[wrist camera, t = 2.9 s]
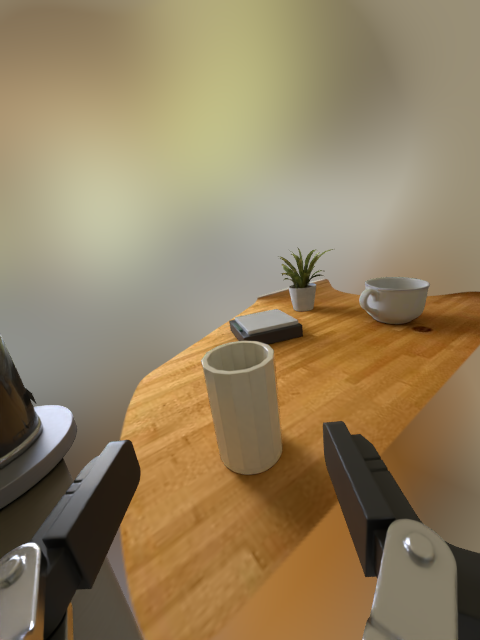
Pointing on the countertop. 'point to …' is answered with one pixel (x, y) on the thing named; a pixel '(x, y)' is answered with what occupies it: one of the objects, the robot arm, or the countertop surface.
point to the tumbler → (244, 405)
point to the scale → (266, 327)
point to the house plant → (302, 282)
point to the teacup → (394, 299)
